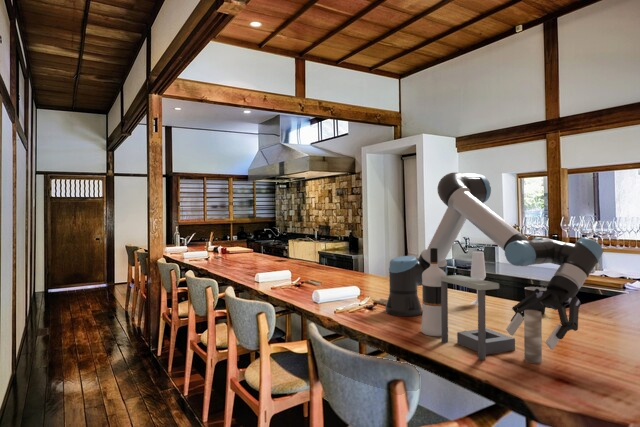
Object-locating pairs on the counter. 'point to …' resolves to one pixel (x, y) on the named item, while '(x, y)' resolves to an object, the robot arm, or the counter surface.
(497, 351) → the socket block
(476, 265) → the champagne flute
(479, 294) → the small grey bench
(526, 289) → the coffee mug
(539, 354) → the peg
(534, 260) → the robot arm
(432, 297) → the vodka
